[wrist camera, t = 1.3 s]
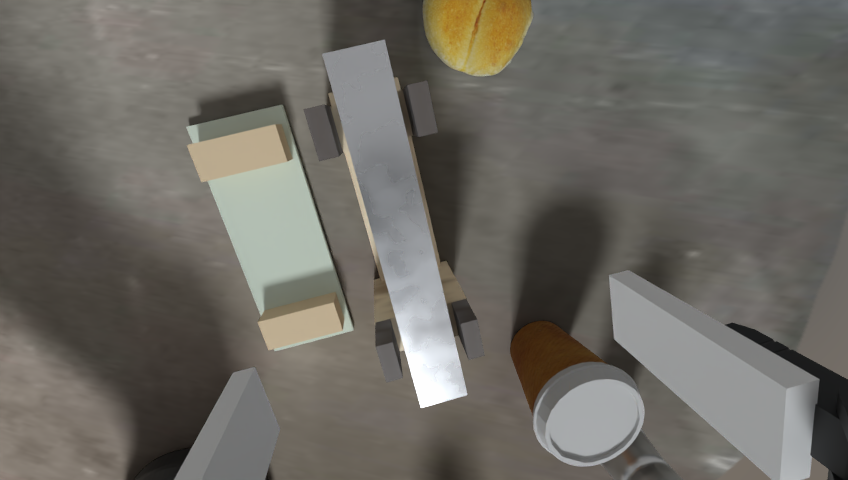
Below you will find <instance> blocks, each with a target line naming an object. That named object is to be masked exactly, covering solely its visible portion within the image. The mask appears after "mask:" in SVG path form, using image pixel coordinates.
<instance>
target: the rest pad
mask: <svg viewBox="0 0 848 480" xmlns="http://www.w3.org/2000/svg"><path fill="white" fill-rule="evenodd" d="M187 130H188V133H189V135H190V138H191V140H192V143H193V144H189V145H187V147H188V149H189V152H190V154H191V157H192V159H193V162H194V164H195V167H196V169H197V172H198V174H199V177H200V179H201V182H205V181H208V183H209V186H210V188H211V191H212V193H213V196H214V198H215V201H216V203H217V206H218V209H219V211H220V214H221V216H222V219H223V221H224V224H225V226H226V229H227V231H228V234H229V236H230V239H231V242H232V244H233V247H234V249H235V252H236V254H237V257H238V259H239V262H240V264H241V267H242V269H243V272H244V274H245V277H246V280H247V282H248V285H249V287H250V290H251V292H252V295H253V297H254V300H255V302H256V305H257V307H258V310H259V312H260V315H261V317H260V319H259V321H258V325H259V327H260V330H261V332H262V335H263V337H264V340H265V342H266V345H267V347H268V350H272V349H274V351H278V350H282V349H286V348H289V347H293V346H297V345H301V344H304V343H308V342H312V341H316V340H319V339H323V338H327V337H331V336H334V335H338V334H342V333H346V332H349V331H353V330H354V326H353V323H352V320H351V317H350V314H349V311H348V307H347V304H346V301H345V298H344V295H343V292H342V289H341V285H340V282H339V279H338V276H337V273H336V270H335V267H334V263H333V260H332V257H331V254H330V251H329V248H328V245H327V241H326V238H325V235H324V232H323V229H322V226H321V222H320V219H319V216H318V213H317V210H316V207H315V204H314V200H313V197H312V194H311V191H310V188H309V185H308V182H307V178H306V175H305V172H304V169H303V166H302V163H301V160H300V156H299V153H298V150H297V147H296V144H295V141H294V137H293V134H292V131H291V128H290V125H289V122H288V119H287V115H286V112H285V109H284V106H283V105H278V106H273V107H269V108H265V109H261V110H256V111H252V112H248V113H243V114H239V115H235V116H231V117H226V118H222V119H218V120H213V121H209V122H205V123H201V124H196V125H192V126H188V127H187Z"/></svg>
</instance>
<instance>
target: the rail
mask: <svg viewBox="0 0 848 480" xmlns="http://www.w3.org/2000/svg"><path fill="white" fill-rule="evenodd" d="M322 55H323V59H324V62H325V66H326V69H327V73H328V77H329V80H330V84H331V87H332V91H333V95H334V98H335V102H336V105H337V109H338V112H339V116H340V120H341V123H342V127H343V130H344V134H345V138H346V141H347V145H348V148H349V152H350V155H351V159H352V163H353V166H354V170H355V173H356V177H357V181H358V184H359V188H360V191H361V195H362V199H363V202H364V206H365V209H366V213H367V216H368V220H369V224H370V227H371V231H372V234H373V238H374V242H375V245H376V249H377V252H378V256H379V259H380V263H381V267H382V270H383V274H384V277H385V281H386V285H387V288H388V292H389V295H390V299H391V303H392V306H393V310H394V313H395V317H396V320H397V324H398V328H399V331H400V335H401V338H402V342H403V346H404V349H405V353H406V356H407V360H408V363H409V367H410V371H411V374H412V378H413V381H414V385H415V389H416V392H417V396H418V399H419V403H420V406H421V408H423V407H427V406H430V405H434V404H437V403H441V402H444V401H448V400H452V399H455V398H459V397H462V396H466V395H467V391H466V387H465V382H464V378H463V374H462V369H461V365H460V361H459V356H458V352H457V348H456V344H455V339H454V335H453V331H452V326H451V322H450V318H449V313H448V309H447V305H446V301H445V296H444V292H443V288H442V283H441V279H440V275H439V270H438V266H437V262H436V258H435V253H434V249H433V245H432V240H431V236H430V232H429V227H428V223H427V219H426V215H425V210H424V206H423V202H422V197H421V193H420V189H419V184H418V180H417V176H416V172H415V167H414V163H413V159H412V154H411V150H410V146H409V141H408V137H407V133H406V129H405V124H404V120H403V116H402V111H401V107H400V103H399V98H398V94H397V90H396V86H395V81H394V77H393V73H392V68H391V64H390V60H389V55H388V51H387V47H386V43H385V40H381V41H376V42H372V43H368V44H363V45H359V46H354V47H350V48H346V49H341V50H337V51H332V52H328V53H324V54H322Z"/></svg>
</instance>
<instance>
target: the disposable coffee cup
mask: <svg viewBox="0 0 848 480" xmlns="http://www.w3.org/2000/svg"><path fill="white" fill-rule="evenodd" d="M510 354H511V357H512V360H513V363H514V366H515V368H516V371H517V374H518V376H519V379H520V382H521V384H522V387H523V390H524V393H525V396H526V399H527V401H528V404H529V407H530V409H531V412H532V415H533V429H534V431H535V434H536V437H537V439H538V441H539V442H540V444H541V445H542V446H543V447H544V448H545V449H546V450H547V451H548V452H550V453H552V454H553V455H554V456H555V457H557V458H558V459H559V460H561V461H562V462H565V463H567V464H570V465H575V466H593V465H597V464H601V463H605V462H607V461H609V460H611V459H613V458H615V457H616V456H618V455H619V454H621V453H622V452H624V451H625V450H626V449H627V448H628V447H629V446H630V445H631V444H632V443H633V441H634V440H635V439H636V437H637V436H638V434H639V432H640V430H641V427H642V425H643V420H644V405H643V401H642V399H641V397H640V394H639V390H638V387H637V385H636V383H635V382H634V380H633V379H632V378H631V377H630V376H629V375H628V374H627V373H626V372H624V371H623V370H622V369H619V368H617V367H615V366H612V365H608V364H607V363H606V362H604V361H603V360H602V359H600V358H599V357H598V356H596V355H595V354H594V353H592V352H591V351H590V350H588V349H587V348H586V347H584V346H583V345H582V344H580V343H579V342H578V341H576V340H575V339H574V338H572V337H571V336H570V335H569V334H567V333H566V332H565V331H563V330H562V329H561V328H559V327H558V326H557V325H555V324H554V323H551V322H548V321H536V322H532V323H530V324H528V325H526V326H524V327H523V328H522V329H520V330H519V331H518V332H517V334H516V335H515V336H514V338H513V340H512V343H511V348H510Z"/></svg>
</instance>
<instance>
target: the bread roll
mask: <svg viewBox="0 0 848 480" xmlns="http://www.w3.org/2000/svg"><path fill="white" fill-rule="evenodd" d="M533 15H534V13H533V12H532V8H531V0H424V1H423V22H424V29H425V34H426V37H427V39H428V42H429V44H430V46H431V48H432V49H433V51H434V52H435V54H436V55H437V56H438V57H439V58H440V59H441V60H442V61H443V62H444V63H445V64H446V65H448V66H449V67H451V68H452V69H455V70H458V71H462V72H464V73H467V74H469V75H473V76H490V75H495V74H497V73H499V72H500V71H502V70H503V69H504V68H505V67H506V66H507V65H508V64H509V63H510V62H511V60H512V58H513V56H514V55H515V54H516V52H517V51H518V50H519V48H520V46H521V45H522V42H523V39H524V37H525V35H526V33H527V31H528V28H529V26H530V24H531V22H532V18H533Z"/></svg>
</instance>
